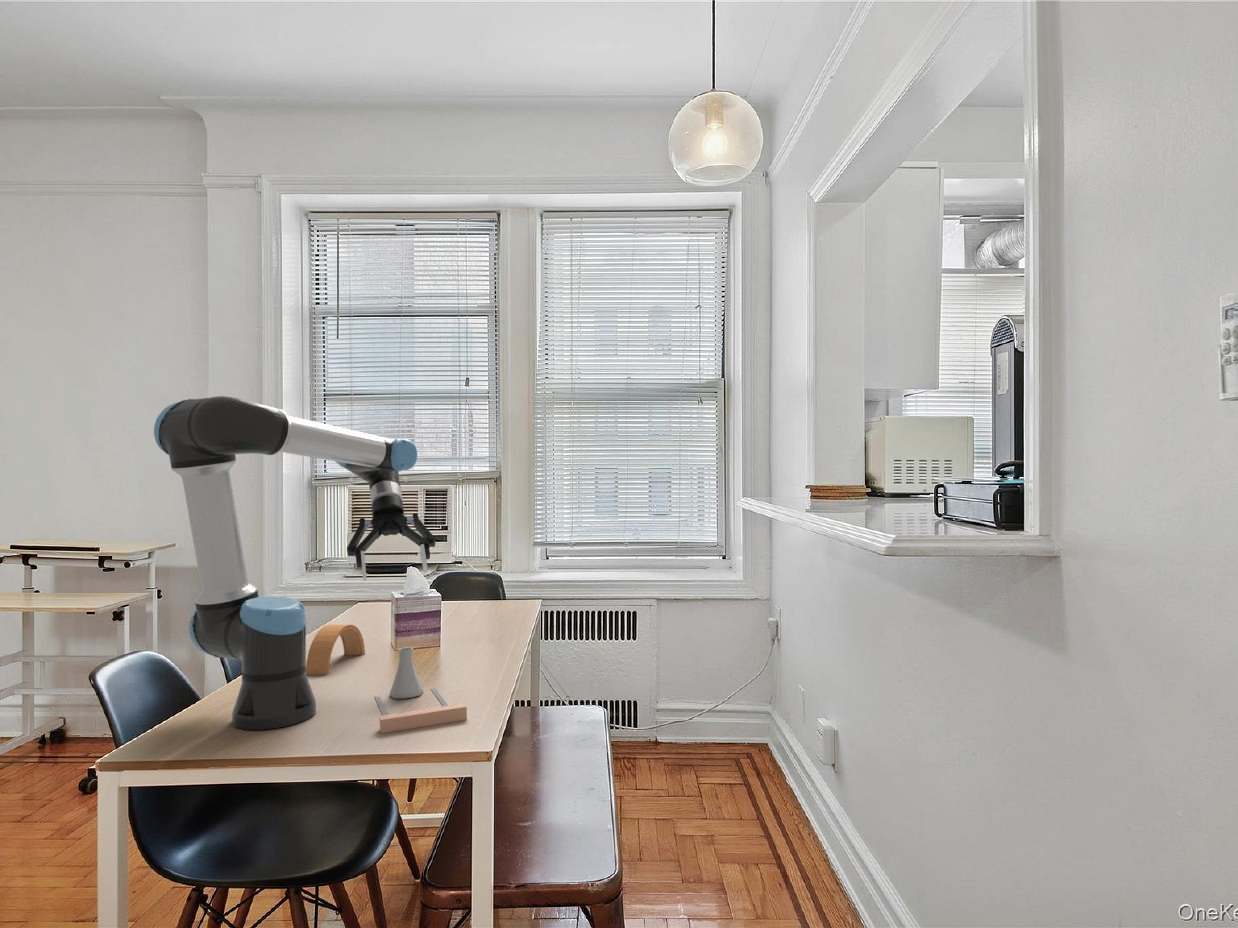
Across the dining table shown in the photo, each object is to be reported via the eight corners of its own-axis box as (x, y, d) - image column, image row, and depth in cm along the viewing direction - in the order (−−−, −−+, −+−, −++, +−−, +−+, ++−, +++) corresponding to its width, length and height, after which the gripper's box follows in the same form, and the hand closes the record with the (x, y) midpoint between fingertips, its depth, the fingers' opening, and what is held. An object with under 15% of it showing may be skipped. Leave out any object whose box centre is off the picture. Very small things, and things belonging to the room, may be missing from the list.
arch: (365, 654, 197) (365, 617, 197) (327, 675, 177) (326, 634, 177) (345, 654, 198) (344, 617, 198) (305, 674, 178) (304, 633, 178)
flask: (388, 692, 162) (387, 647, 162) (421, 688, 164) (421, 643, 165) (390, 701, 155) (389, 654, 155) (425, 697, 158) (424, 650, 158)
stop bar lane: (381, 733, 136) (381, 719, 136) (367, 698, 157) (367, 686, 158) (466, 719, 143) (466, 706, 143) (442, 687, 164) (442, 676, 164)
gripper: (437, 508, 190) (449, 575, 177) (334, 517, 181) (339, 589, 168) (438, 489, 185) (450, 557, 171) (332, 498, 176) (337, 570, 163)
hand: (395, 573), depth 170 cm, fingers open, 13 cm apart
